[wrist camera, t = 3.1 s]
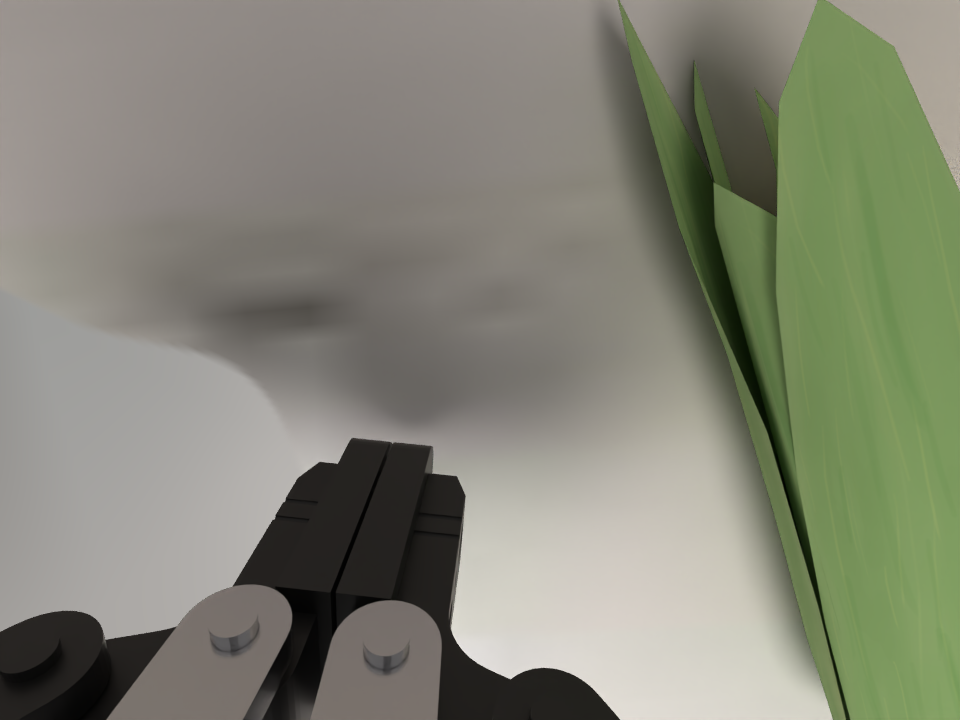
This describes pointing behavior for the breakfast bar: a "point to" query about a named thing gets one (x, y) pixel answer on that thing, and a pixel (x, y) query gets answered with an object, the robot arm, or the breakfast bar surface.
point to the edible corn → (843, 355)
